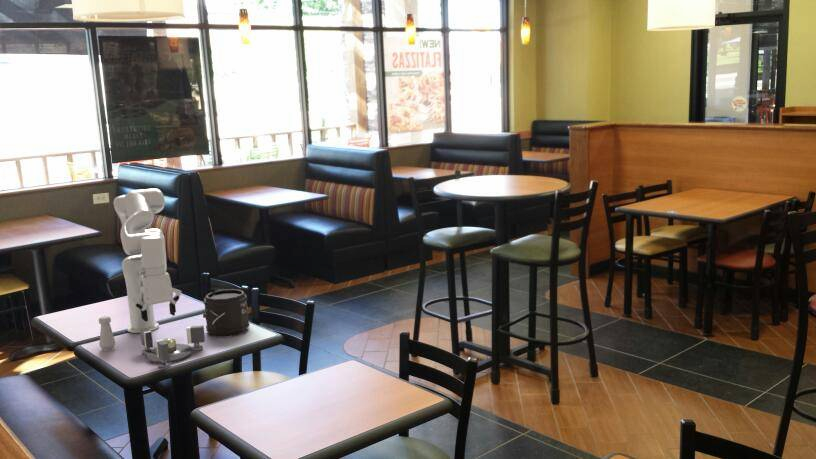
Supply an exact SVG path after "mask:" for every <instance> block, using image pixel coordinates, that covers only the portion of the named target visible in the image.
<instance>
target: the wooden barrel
mask: <svg viewBox="0 0 816 459" xmlns="http://www.w3.org/2000/svg"><path fill="white" fill-rule="evenodd" d="M247 300H248V297H247V294H246V293H245V292H244V290H242V289H235V288H230V289H228V288H227V289H220V290H215V291H213V292H211V291H210V293H206V295H205V297H204V298H203V304H204V313H202V318H203V319H205V322H206V325H205V329H206V332H207V333H208V334H209V336H212V337H216V338H226V337H227V338H229V337H234V336H238V335H242V334H244V333H245V332H247V331H248V328H249V327H250V324H251V323H250V322H249V308H248V307H249V306H248V303H247Z"/></svg>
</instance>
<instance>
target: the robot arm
mask: <svg viewBox="0 0 816 459" xmlns="http://www.w3.org/2000/svg"><path fill="white" fill-rule="evenodd" d="M165 205H166V200H165V196H164V193H163V192H162V191H161V190H160V189H159V188H146V189H144V188H143V189H133V190H130V191H128V192H127V193H126V194H122V195H119V196H116V197H115V198H114V199H113V207H114V210H115V213H116V214H117V216H118V217H119V218H118V219H120V222H121V228H120V240H121V245H122V249H123V251H124V253H125V254H126V255H128V256H126V257H125V258H124V259H123V260H122V262H121V268H122V272H123V277H124V280H125V286H126V294H127V295H126V296H127V302H128V311H129V312H128V313H129V319H130V325H129V326H128V327H127V332H128V333H132V334H140V329H144V328H147V329H148V330H150V331H151V332H152V331H155V330H157V329H159V327H160V324H159V323H158V322H157V321H155V312H154V306H153V305H157V304H162V303H167V302H169V306H168V307H169V314H170V315H172V317H173V316H176V312H177V310H176V304H177V302H178V301H179V300H180V296H181V294H182V290H180V289H178V288H174V287H172V281H171V276H170V274H169V272H167V266H168V265H167V252H166V240H165V239H166V238H165V236H164V232H163V230H162V229H160V228H156V227H155V228H148V227H149V226H150V225H151V224H152V223H153V221H154V215H155V214H158V213H160V212H162V211H163V209H164V208H165ZM174 293H175V295H174Z"/></svg>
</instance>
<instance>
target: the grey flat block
mask: <svg viewBox="0 0 816 459" xmlns="http://www.w3.org/2000/svg"><path fill="white" fill-rule="evenodd" d="M139 335H140V343H141V345H142V346H143V347H144V350H145V351H149V350H150V349H152V348H154V341H153V333H152V331H150V330H148V329H147V328H144V329H140V333H139Z"/></svg>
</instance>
